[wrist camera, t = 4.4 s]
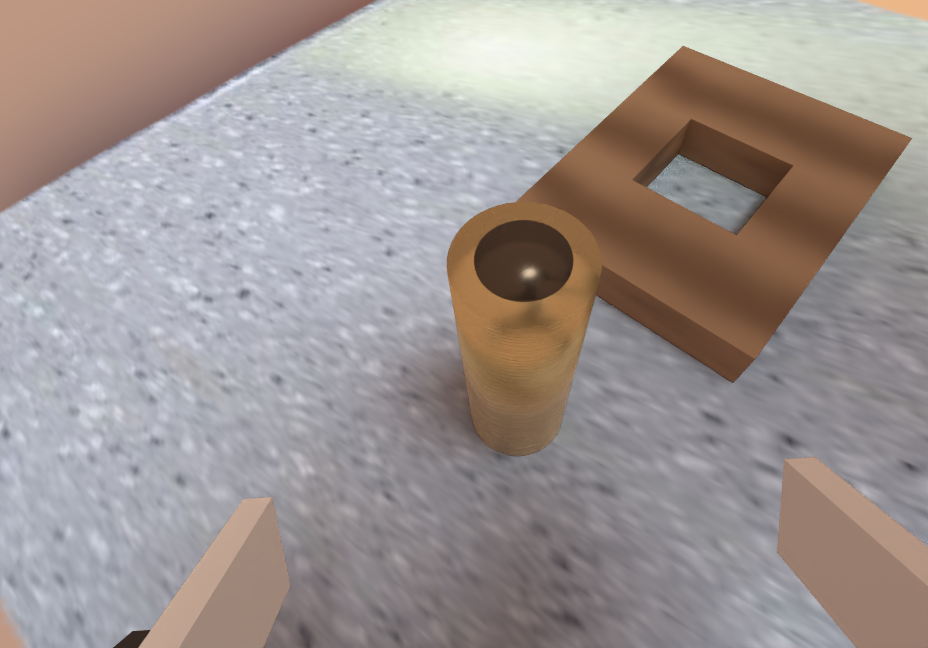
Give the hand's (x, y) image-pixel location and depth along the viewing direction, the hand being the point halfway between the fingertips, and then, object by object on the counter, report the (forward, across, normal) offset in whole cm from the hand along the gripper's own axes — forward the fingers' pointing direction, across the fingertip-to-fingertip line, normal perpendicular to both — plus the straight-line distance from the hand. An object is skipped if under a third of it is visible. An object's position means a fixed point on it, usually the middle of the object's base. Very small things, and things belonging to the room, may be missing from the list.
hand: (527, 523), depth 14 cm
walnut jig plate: (+25, +14, +6) cm, 29 cm away
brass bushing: (+15, +1, -4) cm, 16 cm away
